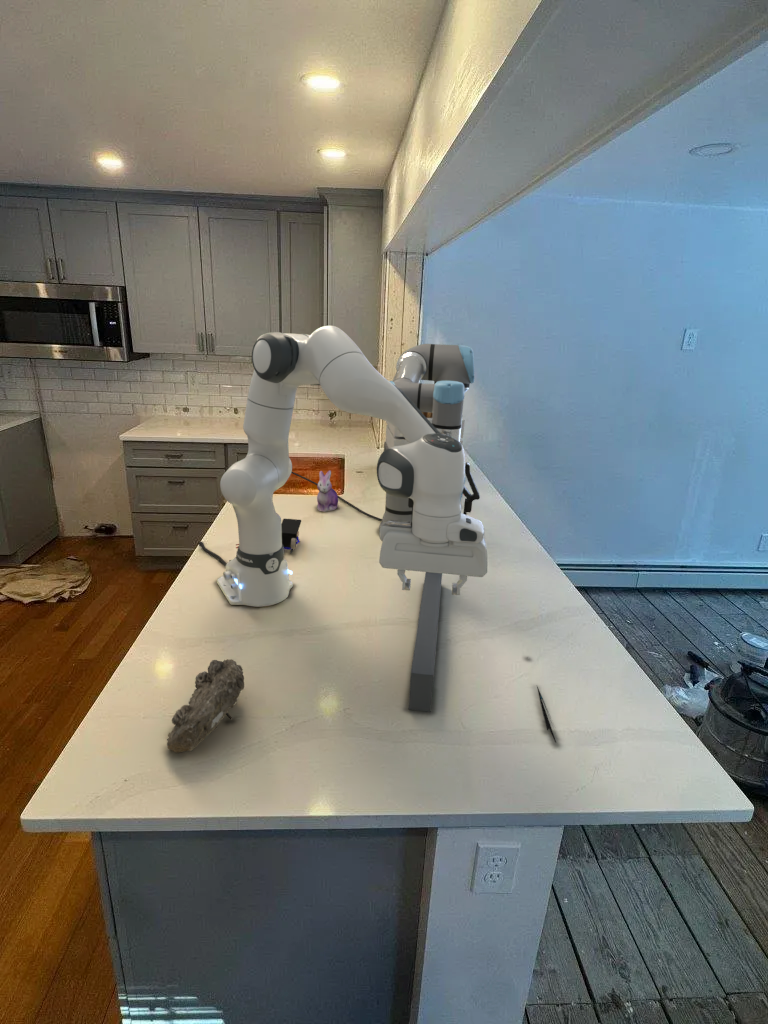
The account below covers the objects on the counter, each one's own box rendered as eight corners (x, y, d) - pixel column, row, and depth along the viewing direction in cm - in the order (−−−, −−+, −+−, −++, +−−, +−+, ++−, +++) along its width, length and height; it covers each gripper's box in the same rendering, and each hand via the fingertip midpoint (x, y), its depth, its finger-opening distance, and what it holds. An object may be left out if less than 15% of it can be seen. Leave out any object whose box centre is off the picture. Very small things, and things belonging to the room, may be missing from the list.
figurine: (320, 513, 215) (320, 475, 210) (311, 505, 224) (311, 468, 219) (343, 510, 219) (344, 473, 214) (333, 502, 228) (333, 466, 223)
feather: (528, 662, 131) (533, 656, 131) (556, 747, 105) (562, 740, 104) (522, 659, 131) (527, 652, 130) (548, 742, 104) (555, 735, 104)
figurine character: (297, 560, 179) (302, 537, 192) (296, 539, 175) (302, 517, 189) (275, 559, 178) (282, 536, 192) (274, 538, 175) (281, 516, 189)
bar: (425, 584, 164) (427, 557, 161) (440, 586, 163) (443, 558, 160) (408, 709, 113) (410, 672, 110) (430, 712, 112) (433, 675, 109)
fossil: (192, 660, 117) (244, 628, 112) (224, 691, 120) (276, 661, 115) (142, 746, 98) (202, 712, 93) (182, 779, 101) (242, 748, 96)
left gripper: (377, 525, 102) (374, 593, 107) (492, 535, 100) (484, 604, 105) (382, 513, 108) (379, 578, 113) (490, 522, 106) (483, 588, 110)
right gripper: (394, 443, 142) (390, 521, 150) (495, 450, 140) (486, 530, 147) (397, 436, 149) (393, 512, 157) (493, 443, 147) (485, 520, 154)
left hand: (430, 591), depth 109 cm, fingers open, 8 cm apart
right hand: (438, 521), depth 152 cm, fingers open, 13 cm apart
